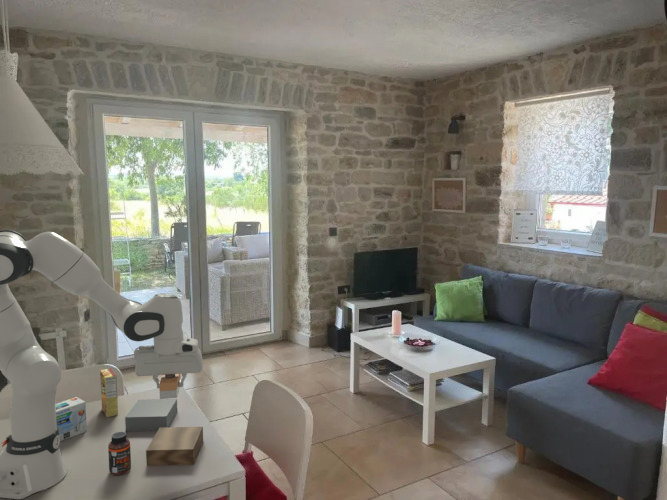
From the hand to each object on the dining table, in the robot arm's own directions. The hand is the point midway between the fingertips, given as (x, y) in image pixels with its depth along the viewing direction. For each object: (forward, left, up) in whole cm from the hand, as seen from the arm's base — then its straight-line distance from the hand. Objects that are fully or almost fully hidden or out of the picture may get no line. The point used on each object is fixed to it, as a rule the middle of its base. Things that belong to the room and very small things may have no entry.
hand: (170, 386), depth 154 cm
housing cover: (0, 0, +1) cm, 1 cm away
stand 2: (+2, -2, -21) cm, 21 cm away
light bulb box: (-38, +12, -21) cm, 45 cm away
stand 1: (-12, +20, -21) cm, 31 cm away
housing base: (0, 0, -2) cm, 2 cm away
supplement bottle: (-12, -11, -21) cm, 27 cm away
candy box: (-30, +28, -21) cm, 46 cm away
